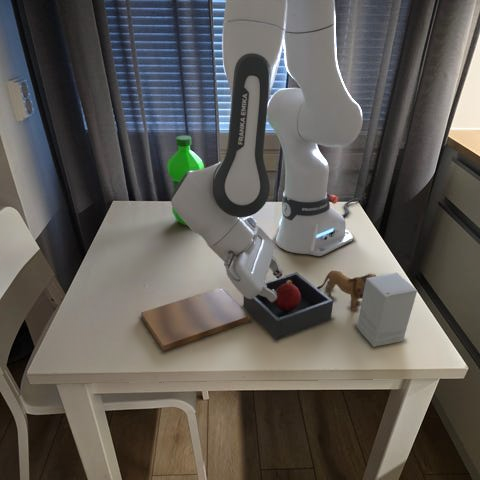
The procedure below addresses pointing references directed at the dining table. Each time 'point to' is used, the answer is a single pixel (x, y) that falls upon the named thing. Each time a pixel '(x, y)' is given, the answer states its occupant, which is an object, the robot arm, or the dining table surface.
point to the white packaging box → (385, 309)
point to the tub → (303, 316)
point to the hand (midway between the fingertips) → (278, 286)
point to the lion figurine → (347, 285)
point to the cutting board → (193, 318)
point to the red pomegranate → (287, 297)
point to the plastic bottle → (182, 164)
